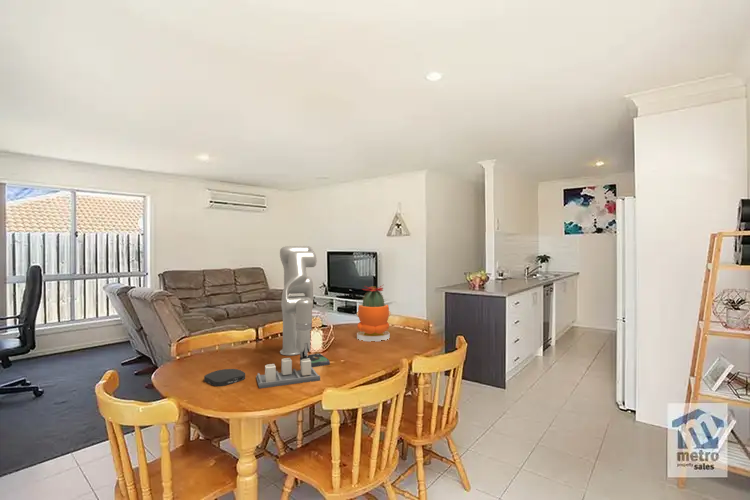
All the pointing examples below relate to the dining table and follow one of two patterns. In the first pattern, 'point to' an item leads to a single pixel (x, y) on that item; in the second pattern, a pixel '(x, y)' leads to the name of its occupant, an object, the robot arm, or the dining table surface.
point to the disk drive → (318, 360)
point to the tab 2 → (286, 366)
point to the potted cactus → (373, 316)
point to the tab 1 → (270, 373)
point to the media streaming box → (224, 377)
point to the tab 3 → (306, 366)
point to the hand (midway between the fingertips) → (303, 365)
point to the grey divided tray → (287, 379)
